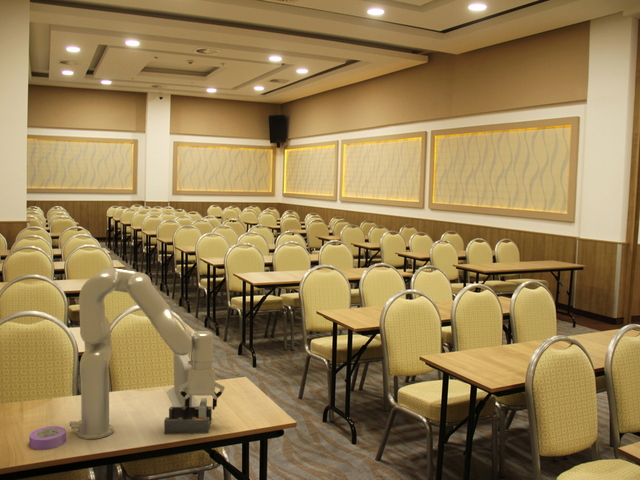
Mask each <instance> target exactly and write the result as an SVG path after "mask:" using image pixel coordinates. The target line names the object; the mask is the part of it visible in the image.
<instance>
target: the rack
mask: <svg viewBox="0 0 640 480" xmlns="http://www.w3.org/2000/svg"><path fill="white" fill-rule="evenodd" d="M212 411H213V405H212V406H209V405H207V417H206V418H205V419H199V407H189V409H188V410H187V407H173V406H169V409H168V417H164V420H163V421H164V425H163V426H164V428H163V429H164V431H163V432H164V435H165V434H166V435H174V434H177V435H178V434H185V435H186V434H209V432H210V428H211V423H212V420H213V419H212V418H213V417H212V416H213V415H212V414H213V412H212Z"/></svg>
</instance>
